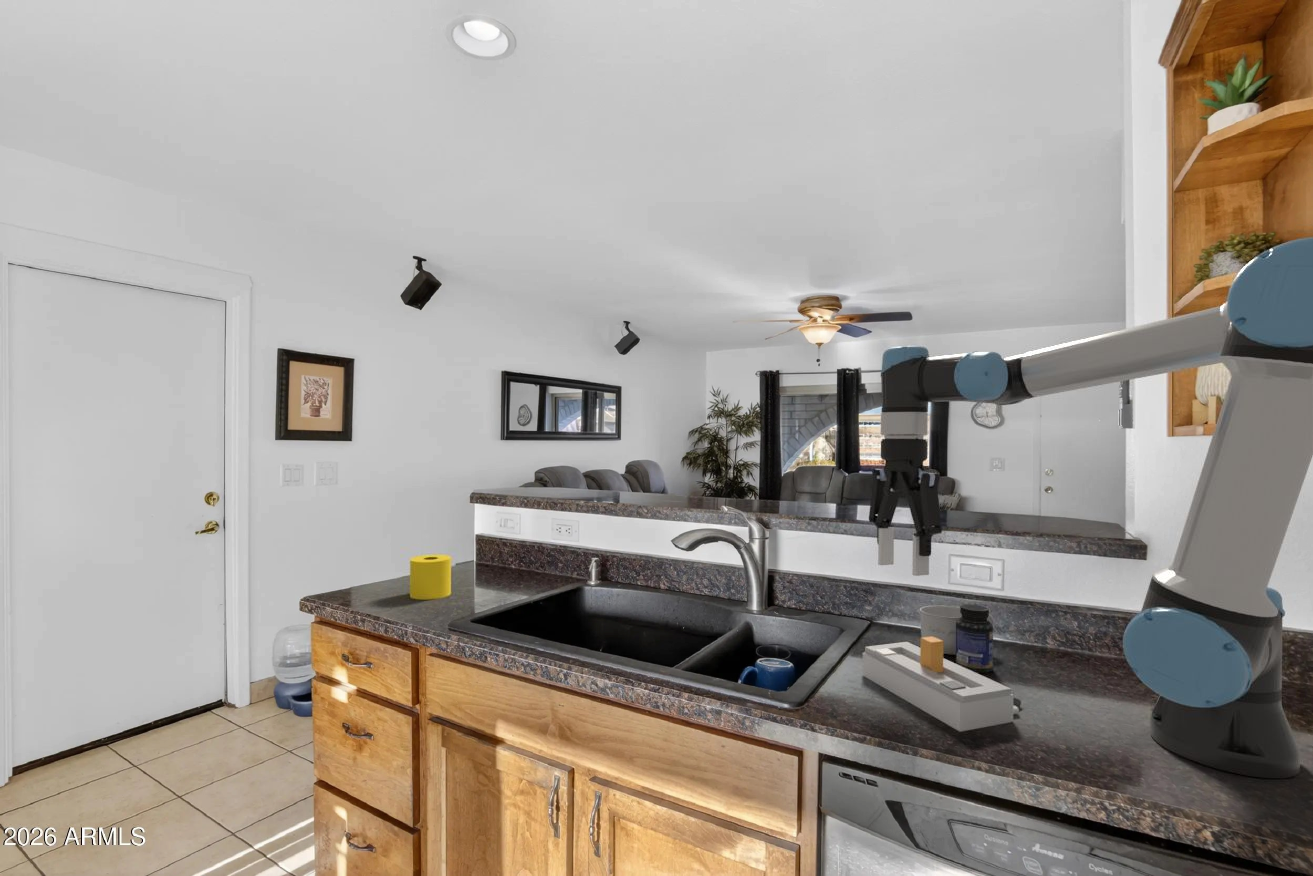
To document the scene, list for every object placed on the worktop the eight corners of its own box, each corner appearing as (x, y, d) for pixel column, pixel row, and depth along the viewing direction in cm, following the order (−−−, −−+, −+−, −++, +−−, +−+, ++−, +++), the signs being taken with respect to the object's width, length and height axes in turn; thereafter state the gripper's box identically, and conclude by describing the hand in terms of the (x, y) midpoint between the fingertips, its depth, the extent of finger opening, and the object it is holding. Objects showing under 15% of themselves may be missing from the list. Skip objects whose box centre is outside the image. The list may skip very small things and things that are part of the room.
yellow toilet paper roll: (412, 591, 167) (412, 555, 167) (451, 588, 170) (451, 554, 170) (407, 600, 158) (408, 563, 158) (449, 598, 160) (449, 561, 160)
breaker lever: (943, 672, 101) (943, 641, 101) (931, 673, 100) (931, 642, 100) (932, 666, 103) (932, 636, 103) (920, 668, 103) (920, 637, 103)
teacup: (924, 657, 120) (924, 615, 120) (915, 639, 131) (915, 600, 131) (1004, 664, 117) (1004, 621, 117) (988, 645, 127) (988, 605, 127)
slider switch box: (1013, 721, 93) (1013, 686, 93) (959, 731, 90) (960, 695, 90) (908, 669, 114) (909, 640, 114) (862, 675, 111) (862, 645, 111)
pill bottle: (997, 675, 111) (998, 613, 111) (960, 672, 113) (961, 610, 112) (986, 662, 117) (987, 604, 117) (951, 660, 119) (952, 602, 118)
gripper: (968, 438, 100) (967, 581, 100) (882, 437, 119) (880, 557, 119) (930, 438, 97) (929, 584, 97) (848, 437, 117) (847, 559, 117)
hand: (902, 569), depth 108 cm, fingers open, 8 cm apart
